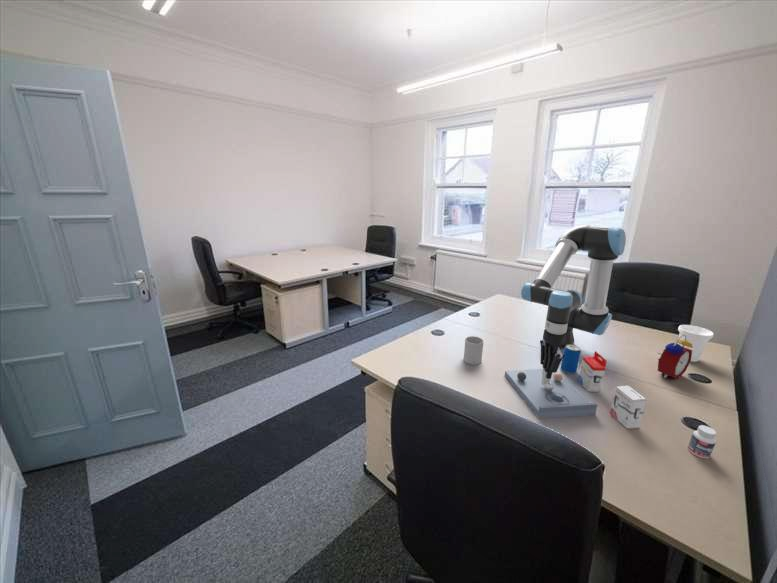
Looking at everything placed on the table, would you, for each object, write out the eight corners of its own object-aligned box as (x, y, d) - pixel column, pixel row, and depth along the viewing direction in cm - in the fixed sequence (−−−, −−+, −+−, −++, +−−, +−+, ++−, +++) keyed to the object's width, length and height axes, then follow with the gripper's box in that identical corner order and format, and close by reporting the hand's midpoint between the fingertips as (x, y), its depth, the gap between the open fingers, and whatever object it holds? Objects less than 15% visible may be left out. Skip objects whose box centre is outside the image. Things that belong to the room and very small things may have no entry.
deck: (504, 375, 143) (505, 366, 142) (551, 373, 145) (552, 364, 144) (539, 418, 117) (540, 408, 115) (595, 414, 119) (597, 404, 117)
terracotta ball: (558, 378, 137) (560, 370, 136) (563, 382, 134) (565, 375, 133) (551, 378, 137) (552, 371, 136) (555, 383, 133) (557, 376, 132)
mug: (481, 366, 151) (483, 345, 147) (463, 363, 153) (464, 342, 149) (481, 354, 162) (483, 334, 158) (464, 351, 164) (465, 332, 160)
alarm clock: (670, 383, 138) (683, 341, 132) (647, 373, 145) (659, 333, 139) (686, 374, 145) (700, 334, 138) (664, 365, 152) (675, 326, 146)
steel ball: (554, 392, 128) (549, 386, 131) (556, 385, 126) (551, 379, 129) (546, 393, 127) (541, 387, 130) (548, 385, 126) (543, 380, 129)
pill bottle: (692, 456, 101) (700, 433, 98) (684, 444, 105) (692, 421, 102) (713, 461, 99) (722, 437, 96) (704, 448, 103) (713, 426, 101)
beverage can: (574, 368, 149) (579, 345, 145) (577, 375, 143) (582, 351, 140) (559, 366, 151) (563, 343, 147) (561, 373, 145) (566, 349, 142)
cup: (703, 357, 159) (713, 329, 154) (703, 367, 150) (714, 338, 145) (671, 349, 167) (679, 322, 162) (669, 358, 158) (678, 330, 154)
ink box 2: (577, 380, 140) (583, 350, 136) (588, 380, 140) (595, 350, 135) (588, 392, 132) (595, 360, 127) (600, 392, 132) (608, 360, 127)
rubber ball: (523, 377, 137) (524, 370, 136) (527, 382, 134) (528, 374, 133) (515, 377, 137) (516, 370, 136) (519, 382, 134) (520, 375, 133)
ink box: (608, 412, 120) (615, 385, 116) (620, 412, 120) (628, 384, 117) (626, 429, 112) (634, 400, 108) (640, 428, 112) (648, 399, 108)
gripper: (536, 324, 129) (528, 375, 136) (555, 338, 117) (545, 393, 124) (554, 323, 130) (545, 374, 137) (575, 338, 118) (563, 392, 125)
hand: (545, 383), depth 131 cm, fingers closed
